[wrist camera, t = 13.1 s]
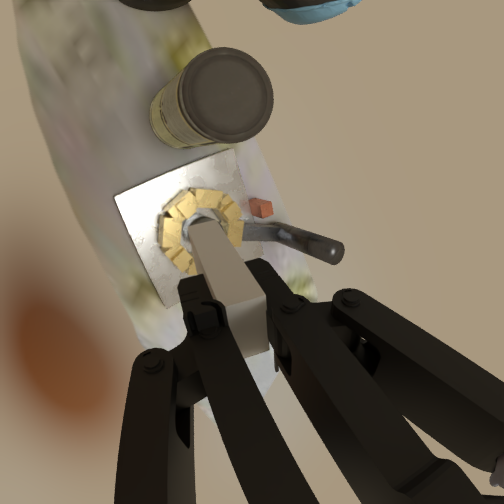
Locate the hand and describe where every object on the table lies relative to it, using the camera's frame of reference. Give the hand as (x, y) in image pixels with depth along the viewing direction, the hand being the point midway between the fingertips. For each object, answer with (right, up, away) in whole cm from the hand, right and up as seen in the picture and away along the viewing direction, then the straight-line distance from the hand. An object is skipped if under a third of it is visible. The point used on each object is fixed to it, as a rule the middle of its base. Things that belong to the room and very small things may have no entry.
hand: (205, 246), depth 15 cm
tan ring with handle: (-1, +3, +28) cm, 29 cm away
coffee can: (-7, +19, +22) cm, 30 cm away
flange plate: (-5, +4, +28) cm, 28 cm away
